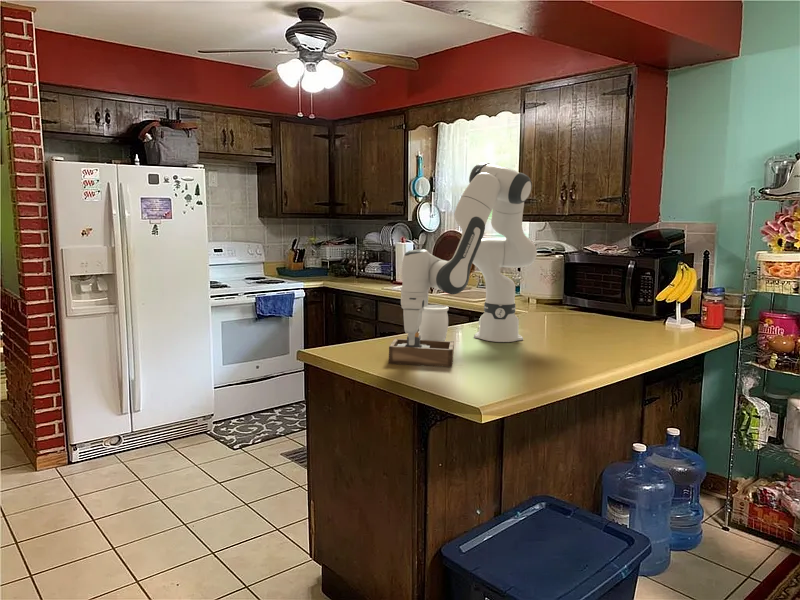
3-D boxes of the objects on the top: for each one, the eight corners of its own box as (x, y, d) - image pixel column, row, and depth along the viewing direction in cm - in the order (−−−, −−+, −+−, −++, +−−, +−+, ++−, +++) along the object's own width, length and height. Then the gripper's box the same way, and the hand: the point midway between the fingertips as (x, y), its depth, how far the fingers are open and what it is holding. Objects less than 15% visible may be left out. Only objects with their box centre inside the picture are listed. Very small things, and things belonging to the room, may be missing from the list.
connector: (407, 355, 200) (408, 331, 199) (420, 356, 200) (420, 332, 199) (406, 358, 197) (407, 333, 195) (418, 358, 196) (419, 334, 195)
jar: (449, 346, 221) (451, 305, 219) (444, 352, 211) (445, 309, 209) (421, 343, 224) (422, 303, 222) (414, 349, 214) (415, 307, 212)
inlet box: (394, 354, 206) (394, 338, 205) (453, 357, 203) (453, 341, 202) (388, 363, 193) (389, 346, 192) (451, 367, 190) (452, 350, 190)
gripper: (408, 295, 206) (407, 335, 208) (400, 303, 186) (399, 347, 188) (426, 295, 205) (425, 336, 207) (421, 304, 185) (420, 349, 187)
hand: (413, 341), depth 197 cm, fingers open, 8 cm apart
